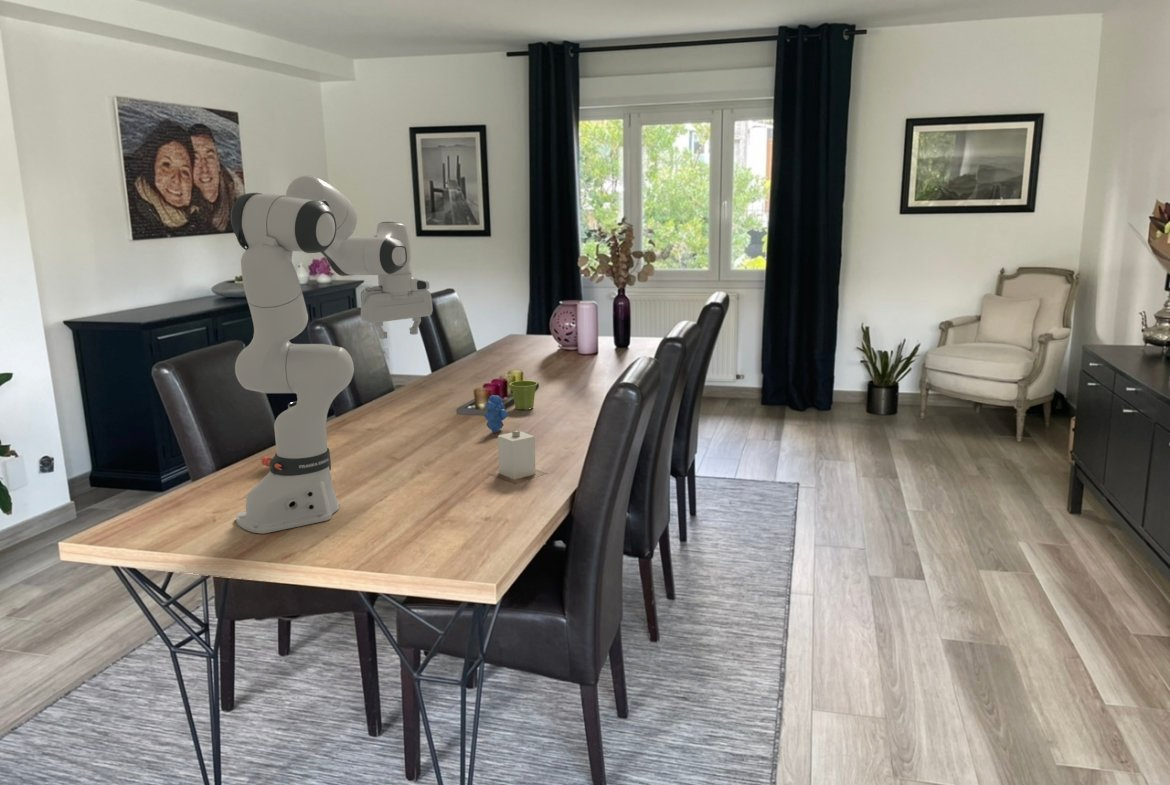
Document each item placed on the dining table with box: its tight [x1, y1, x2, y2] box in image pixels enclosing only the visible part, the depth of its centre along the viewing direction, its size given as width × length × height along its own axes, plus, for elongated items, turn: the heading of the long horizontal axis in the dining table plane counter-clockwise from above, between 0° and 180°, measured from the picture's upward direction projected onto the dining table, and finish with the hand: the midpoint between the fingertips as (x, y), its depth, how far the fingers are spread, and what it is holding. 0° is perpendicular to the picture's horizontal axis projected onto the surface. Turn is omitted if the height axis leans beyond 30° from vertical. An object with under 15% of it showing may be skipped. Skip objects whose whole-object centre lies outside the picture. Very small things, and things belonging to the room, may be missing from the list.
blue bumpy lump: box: [484, 394, 509, 433], centre depth 260 cm, size 12×7×12 cm, turn 164°
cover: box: [497, 430, 536, 479], centre depth 219 cm, size 7×7×11 cm
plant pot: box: [509, 380, 538, 410], centre depth 290 cm, size 9×9×9 cm
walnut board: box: [487, 468, 549, 484], centre depth 220 cm, size 11×11×1 cm
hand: (398, 336), depth 230 cm, fingers open, 8 cm apart
